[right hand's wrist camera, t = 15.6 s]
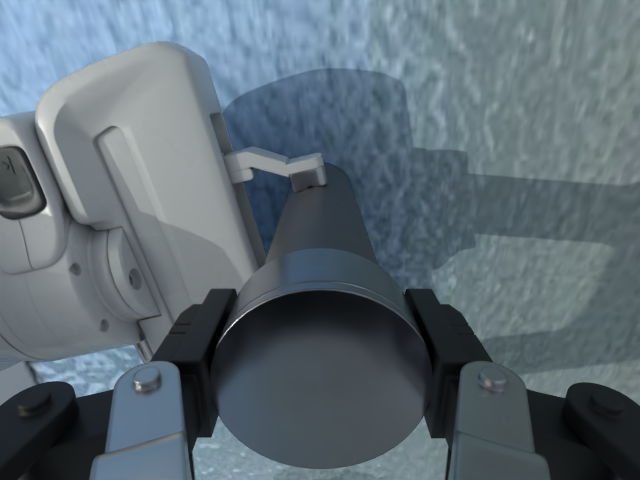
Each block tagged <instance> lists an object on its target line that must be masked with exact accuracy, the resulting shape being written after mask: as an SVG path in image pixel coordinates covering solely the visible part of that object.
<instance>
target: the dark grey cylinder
mask: <svg viewBox="0 0 640 480" xmlns="http://www.w3.org/2000/svg"><path fill="white" fill-rule="evenodd" d="M324 166H325V170H326V175H327V181H328V183H327V184H325V185H323V186H320V187H313V186H309V188H308V189H306V190H303V191H298V192H294V190H293V186H292V183H291V186H290V189H289V192H288V195H287V198H286V201H285V204H284V207H283V210H282V213H281V216H280V219H279V222H278V225H277V228H276V231H275V234H274V237H273V240H272V243H271V246H270V249H269V252H268V255H267V258H266V261H265V264H264V265H266V264H267V263H269V262H270V261H272V260H274V259H276V258H278V257H281V256H283V255H286V254H289V253H292V252H295V251H300V250H305V249H316V248H326V249H337V250H342V251H347V252H350V253H354V254H357V255H359V256H362V257H364V258H366V259H368V260H370V261H372V262H373V263H375V264H377V265H378V263H377V260H376V257H375V254H374V251H373V249H372V246H371V243H370V240H369V237H368V234H367V231H366V228H365V225H364V222H363V219H362V216H361V213H360V210H359V207H358V204H357V201H356V198H355V195H354V192H353V190H352V187H351V184H350V181H349V179H348V177H347V176H346V174H345V173H344V172H343V171H342V170H341V169H339V168H338V167H336V166H334V165H332V164H329V163H324Z"/></svg>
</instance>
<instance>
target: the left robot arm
mask: <svg viewBox="0 0 640 480" xmlns="http://www.w3.org/2000/svg"><path fill="white" fill-rule="evenodd" d="M259 170H264V171H267V172H271V173H275V174H278V175H282V176H286V177H290V179H291V183H292V186H293V190H294V192H298V191H303V190H306V189H308V188H309V186H313V187H320V186H323V185H325V184H327V183H328V181H327V175H326V170H325V166H324V162H323V157H322V153H313V154H309V155H305V156H301V157H296V158H292V159H289V158H288V157H287V156H283V155H280V154H277V153H274V152H270V151H267V150H264V149H261V148H257V147H254V146H252V147H248V148H244V149H240V150H236V151H234V149H233V146H232V143H231V139H230V136H229V133H228V130H227V126H226V123H225V120H224V117H223V114H222V110H221V107H220V104H219V101H218V98H217V94H216V91H215V88H214V85H213V81H212V78H211V75H210V72H209V68H208V65H207V63H206V61H205V60H204V59H203V57H201V56H200V55H198V54H196V53H195V52H193V51H191V50H190V49H188V48H186V47H184V46H182V45H180V44H177V43H173V42H168V41H157V42H152V43H148V44H144V45H140V46H137V47H134V48H131V49H128V50H125V51H122V52H120V53H117V54H114V55H112V56H109V57H106V58H104V59H102V60H99V61H97V62H94V63H92V64H90V65H88V66H86V67H83V68H81V69H79V70H77V71H75V72H73V73H71V74H69V75H67V76H65V77H63V78H62V79H60V80H58V81H57V82H55V83H54V84H53V85H51V86H50V87H49V88H48V89H47V90H46V91H45V92H44V94H43V95H42V96H41V98H40V100H39V102H38V104H37V107H36V111H28V112H22V113H16V114H12V115H7V116H3V117H0V371H1V370H4V369H7V368H9V367H11V366H13V365H15V364H17V363H19V362H20V361H22V360H27V361H36V362H47V361H55V360H61V359H65V358H70V357H75V356H80V355H85V354H89V353H94V352H99V351H104V350H109V349H114V348H119V347H124V346H128V345H133V344H134V345H135V347H136V349H137V351H138V354H139V356H140V358H141V359H142V361H143V363H147V362H150V360H151V359H152V357H153V356H154V354H155V352H156V351H157V349H158V348H159V346H160V345H161V343H162V342H163V340H164V338H165V337H166V335H167V334H168V333H169V331H170V329H171V328H172V326H174V323H175V321H176V320H177V318H178V317H179V315H180V313H182V312H183V311H184V310H186V309H187V308H188V307H190V306H191V305H193V304H202V303H203V301H204V300H205V298H206V296H207V294H208V293H209V291H210V289H212V288H235V289H236V292H237V295H238V293H239V292H240V290H241V288H242V287H243V285H244V284H245V283H246V282H247V280H248V279H249V278H250V277H251V276H252V275H253V274H254V273H255V272H256V271H258V270H259V269H260V268H261V267H263V266H264V264H265V261H266V258H267V255H266V252H265V249H264V246H263V242H262V239H261V236H260V233H259V230H258V226H257V223H256V220H255V217H254V213H253V210H252V207H251V204H250V201H249V197H248V194H247V191H246V188H245V184H244V181H248V180H252V179H253V178H254V176H255V175H256V174H257V173H258V171H259Z"/></svg>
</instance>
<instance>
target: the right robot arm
mask: <svg viewBox="0 0 640 480" xmlns="http://www.w3.org/2000/svg"><path fill="white" fill-rule="evenodd" d="M236 297H237V292H236V289H235V288H212V289H210V291H209V293H208V294H207V296H206V298H205V300H204V301H203V303H202V304H193V305H191V306H190V307H188V308H187V309H186V310H184V311H183V312H182V313H180V315H179V317H178V318H177V320H176V321H175V323H174V326H172V328H171V329H170V331H169V333H168V334H167V335H166V337H165V338H164V340H163V342H162V343H161V345H160V346H159V348H158V349H157V351H156V352H155V354H154V356H153V357H152V359H151V360H150V362H147V363H144V364H141V365H138V366H136V367H134V368H132V369H130V370H128V371H127V372H126V373H124V374H123V375H122V376H121V377H120V378H119V379H118V381H117V382H116V384H115V386H114V389H113V390H109V391H105V392H101V393H96V394H92V395H87V396H83V397H78V398H76V395H75V392H74V389H73V387H72V386H71V385H70V384H68V383H66V382H60V381H53V382H46V383H42V384H38V385H35V386H32V387H30V388H27V389H25V390H23V391H21V392H19V393H18V394H16V395H14V396H13V397H12V398H10V399H9V400H7V401H6V402H5V403H3V404H2V405H1V406H0V480H196V478H195V469H194V459H193V453H192V451H193V448H194V445H195V442H196V439H197V437H212V434H213V430H214V427H215V424H216V421H217V418H218V413H217V411H216V409H215V406H214V404H213V399H212V392H211V384H210V375H209V370H210V363H211V360H212V356H213V352H214V350H215V348H216V345H217V343H218V340H219V338H220V336H221V333H222V331H223V328H224V326H225V323H226V321H227V319H228V316H229V314H230V311H231V309H232V307H233V304H234V302H235V300H236ZM405 297H406V299H407V301H408V304H409V306H410V308H411V311H412V313H413V315H414V318H415V320H416V322H417V325H418V327H419V329H420V332H421V334H422V336H423V339H424V341H425V344H426V346H427V348H428V350H429V354H430V357H431V360H432V365H433V379H432V387H431V394H430V401H429V405H428V408H427V410H426V412H425V414H424V417H425V420H426V423H427V426H428V430H429V433H430V436H431V438H446V441H447V444H448V446H449V447H448V453H447V459H446V469H445V478H444V480H640V406H639V405H638V404H637V403H635V402H634V401H633V400H631V399H630V398H628V397H627V396H625V395H624V394H622V393H620V392H618V391H616V390H614V389H611V388H609V387H606V386H603V385H599V384H595V383H584V382H583V383H576V384H573V385H572V386H570V387H569V389H568V391H567V394H566V398H561V397H557V396H552V395H548V394H543V393H539V392H535V391H531V390H528V389H526V386H525V384H524V382H523V381H522V379H521V378H520V377H519V376H518V375H517V374H516V373H514V372H513V371H512V370H510V369H508V368H506V367H504V366H502V365H499V364H496V363H493V361H492V360H491V358H490V357H489V355H488V354H487V352H486V350H485V349H484V347H483V346H482V344H481V343H480V341H479V340H478V338H477V337H476V335H474V332H473V330H472V329H471V327H470V326H468V323H467V321H466V320H465V318H464V317H463V315H462V314H461V313H460V312H459V311H457V310H456V309H455V308H453V307H452V306H450V305H449V304H440V303H439V301H438V300H437V298H436V296H435V294H434V293H433V291H432V290H431V289H406V292H405Z"/></svg>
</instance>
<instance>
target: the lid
mask: <svg viewBox="0 0 640 480" xmlns="http://www.w3.org/2000/svg"><path fill="white" fill-rule="evenodd" d="M209 375H210V384H211V392H212V399H213V404H214V406H215V409H216V411H217V413H218V415H219V417H220V418H221V420H222V422H223V423H224V424H225V426H226V427H227V428H228V430H229V431H230V432H231V433H232V434H233V435H234V436H235V437H236V438H237V439H238V440H239V441H241V442H242V443H243V444H244V445H246V446H247V447H248V448H250V449H252V450H253V451H255V452H257V453H258V454H260V455H262V456H265V457H267V458H269V459H271V460H274V461H277V462H280V463H283V464H287V465H291V466H295V467H302V468H311V469H331V468H340V467H347V466H351V465H355V464H359V463H363V462H365V461H368V460H371V459H374V458H376V457H378V456H380V455H382V454H384V453H386V452H387V451H389V450H391V449H392V448H394V447H395V446H397V445H398V444H399V443H400V442H402V441H403V440H404V439H405V438H406V437H407V436H408V435H409V434H410V433H411V432H412V431H413V430H414V429H415V428H416V426H417V425H418V424H419V422H420V421H421V419H422V418H423V416H424V414H425V412H426V410H427V408H428V405H429V401H430V394H431V387H432V379H433V365H432V360H431V357H430V354H429V350H428V348H427V346H426V344H425V341H424V339H423V336H422V334H421V332H420V329H419V327H418V325H417V322H416V320H415V318H414V315H413V313H412V311H411V308H410V306H409V304H408V301H407V299H406V297H405V295H404V293H403V291H402V290H401V288H400V287H399V285H398V284H397V282H396V281H395V280H394V279H393V278H392V277H391V276H390V275H389V274H388V273H387V272H386V271H385V270H383V269H382V268H381V267H380V266H378V265H377V264H375V263H373V262H372V261H370V260H368V259H366V258H364V257H362V256H359V255H357V254H354V253H350V252H347V251H342V250H337V249H326V248H316V249H305V250H300V251H295V252H292V253H289V254H286V255H283V256H281V257H278V258H276V259H274V260H272V261H270V262H269V263H267V264H266V265H264V266H263V267H261V268H260V269H259V270H258V271H256V272H255V273H254V274H253V275H252V276H251V277H250V278H249V279H248V280H247V282H246V283H245V284H244V285H243V287H242V288H241V290H240V292H239V293H238V295H237V297H236V300H235V302H234V304H233V307H232V309H231V311H230V314H229V316H228V319H227V321H226V323H225V326H224V328H223V331H222V333H221V336H220V338H219V340H218V343H217V345H216V348H215V350H214V352H213V356H212V360H211V363H210V370H209Z"/></svg>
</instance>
